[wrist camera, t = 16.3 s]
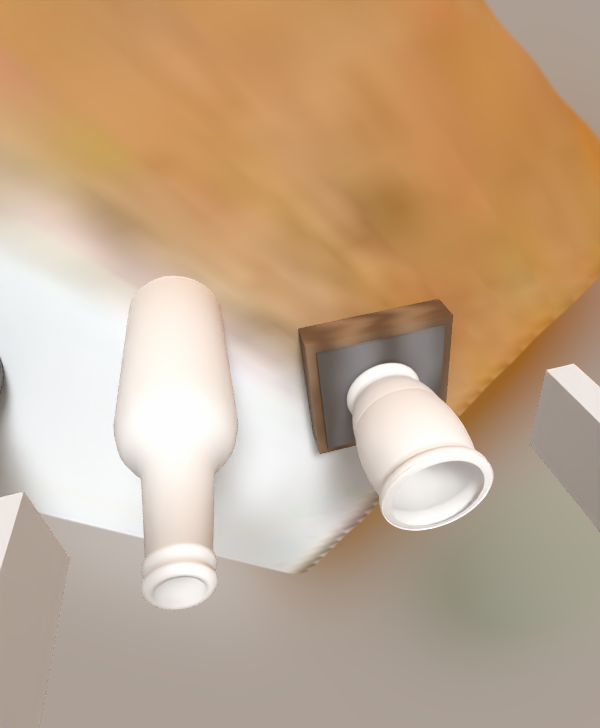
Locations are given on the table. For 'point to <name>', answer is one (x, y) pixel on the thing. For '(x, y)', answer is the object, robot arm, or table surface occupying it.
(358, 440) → the jar
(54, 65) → the table surface
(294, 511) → the table surface
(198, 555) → the alcohol
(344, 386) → the plinth
